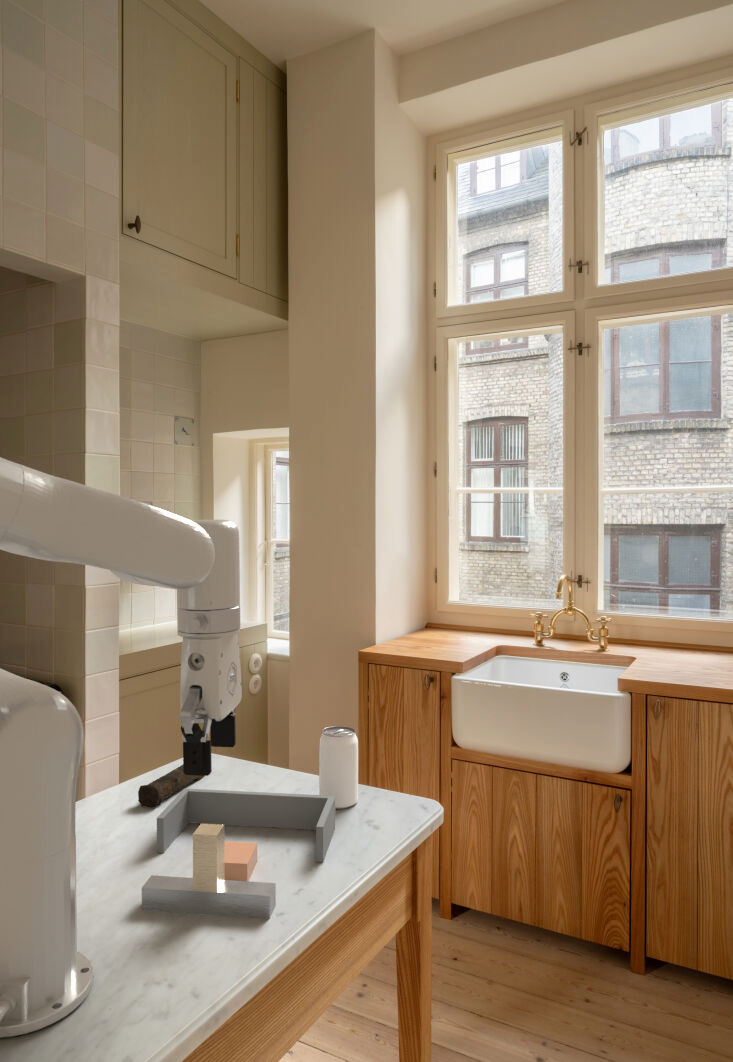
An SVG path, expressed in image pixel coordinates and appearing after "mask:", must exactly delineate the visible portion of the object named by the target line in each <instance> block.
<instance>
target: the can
mask: <svg viewBox="0 0 733 1062" xmlns="http://www.w3.org/2000/svg"><path fill="white" fill-rule="evenodd" d="M356 732H357V730H356V729H355V728H354V727H349V726H347V725H346V726H345V725H334V726H328V727H325V728H323V729H322V730H321V733H322V734H321V736H320V739H319V752H318V753H319V755H318V757H319V758H318V759H319V762H318V764H319V765H318V767H319V769H318V772H319V773H318V777H319V778H318V780H319V781H318V785H319V786H318V789H319V790H318V792H319V793H318V795H326V796H335V810H344V809H349V808H351V807H353V806H355V805H356V804H357V802H358V801H359V739H358V736H357V735H356Z"/></svg>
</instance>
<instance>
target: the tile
mask: <svg viewBox="0 0 733 1062" xmlns="http://www.w3.org/2000/svg"><path fill="white" fill-rule="evenodd" d="M224 846H225V880H233V881H249V882H250V879H251V877H252V875H253V872H254V870H255V868H256V866H257V864H258V842H249V841H248V842H247V841H245V842H243V841H226V840H224ZM256 863H257V864H256Z"/></svg>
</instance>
